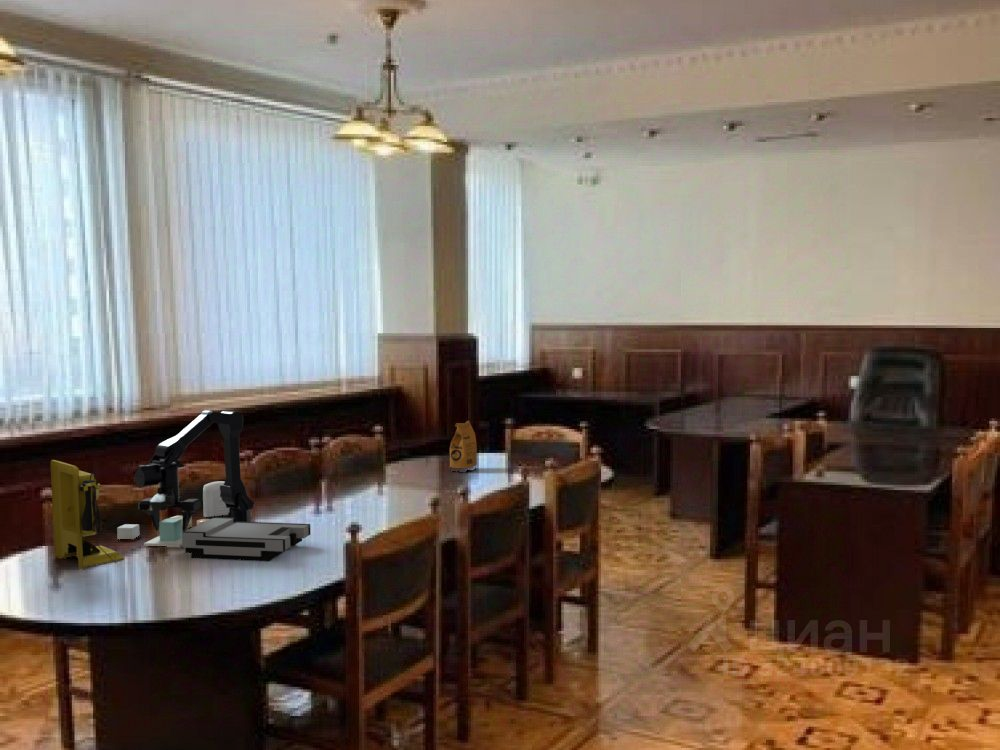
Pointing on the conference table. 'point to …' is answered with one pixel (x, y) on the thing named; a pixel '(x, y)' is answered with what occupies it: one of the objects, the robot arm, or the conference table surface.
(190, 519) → the birch block
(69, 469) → the vintage telephone
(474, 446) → the coffee package
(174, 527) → the teal block
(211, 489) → the photo printer
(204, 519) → the tan rounded lump
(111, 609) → the conference table surface
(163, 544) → the pad
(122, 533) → the grey block
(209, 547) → the game console
